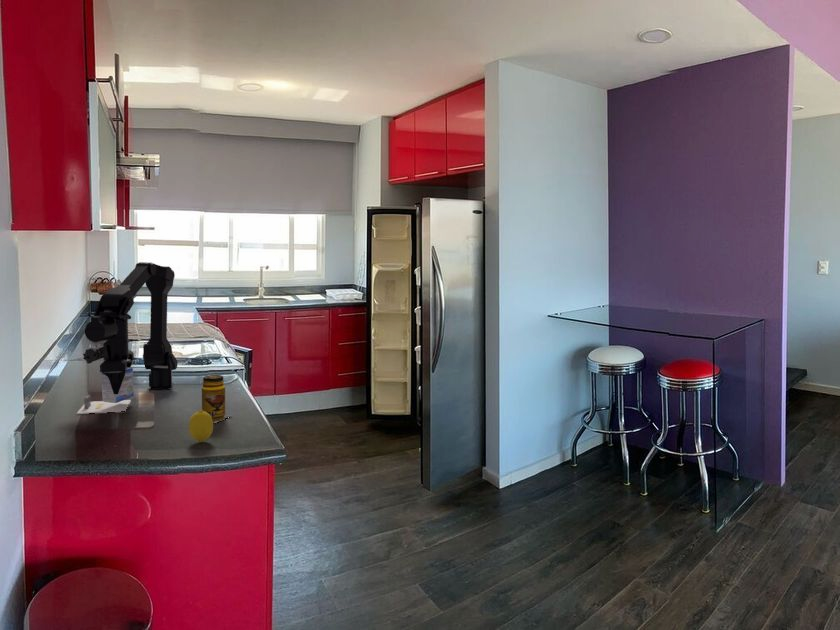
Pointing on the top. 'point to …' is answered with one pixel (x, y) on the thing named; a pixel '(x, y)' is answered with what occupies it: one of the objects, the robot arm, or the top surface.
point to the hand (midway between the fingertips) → (118, 390)
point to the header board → (102, 406)
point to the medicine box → (125, 390)
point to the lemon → (200, 425)
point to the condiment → (214, 397)
